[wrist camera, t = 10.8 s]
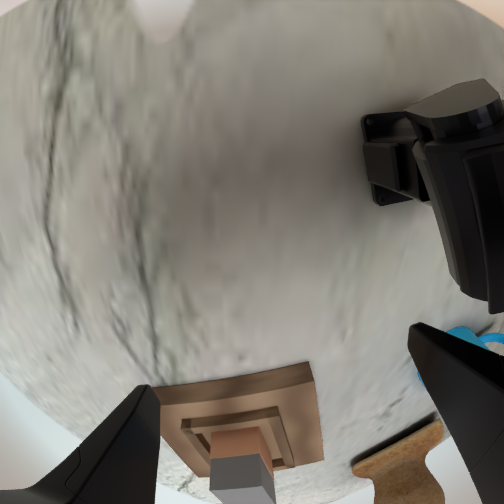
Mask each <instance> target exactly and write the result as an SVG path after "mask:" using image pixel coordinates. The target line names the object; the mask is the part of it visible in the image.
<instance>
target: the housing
mask: <svg viewBox="0 0 504 504" xmlns="http://www.w3.org/2000/svg"><path fill="white" fill-rule="evenodd" d="M210 459H211V464H210V489H209V490H210V491H211V492H212V493H213V494H214V495H215V496H216V497H217V498H218V499H219V500H220V501H222V502H223V503H224V504H276V497H275V488H274V474H273V465H272V456H271V453H270V451H269V448H268V446H267V444H266V442H265V439H264V437H263V435H262V432H261V430H260V428H259V426H256V427H249V428H242V429H235V430H227V431H219V432H211V449H210Z"/></svg>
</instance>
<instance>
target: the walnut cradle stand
mask: <svg viewBox="0 0 504 504" xmlns="http://www.w3.org/2000/svg"><path fill="white" fill-rule="evenodd" d="M152 389H153V390H154V392H155V394H156V395H157V397H158V398H159V400H160V404H161V411H160V435H161V436H162V437H163V438H164V440H165V441H166V442H167V443H168V444H169V446H170V447H171V448H172V449H173V450H174V451H175V453H176V454H177V455H178V456H179V457H180V458H181V459H182V460H183V462H184V463H185V464H186V465H187V466H188V467H189V468H190V469H191V470H192V471H193V472H194V473H195V474H196V475H197V476H198V477H210V464H211V459H210V449H211V432H219V431H227V430H235V429H242V428H249V427H256V426H259V428H260V430H261V432H262V435H263V437H264V439H265V442H266V444H267V446H268V448H269V451H270V453H271V456H272V465H273V471H278V470H283V469H289V468H294V467H295V466H300V465H305V464H309V463H314V462H318V461H322V460H324V452H323V443H322V435H321V427H320V419H319V411H318V404H317V397H316V390H315V383H314V378H313V375H312V372H311V368H310V365H309V362H305V363H301V364H297V365H293V366H288V367H284V368H279V369H275V370H270V371H265V372H260V373H255V374H250V375H245V376H239V377H233V378H227V379H221V380H215V381H208V382H201V383H193V384H185V385H176V386H167V387H156V388H152Z"/></svg>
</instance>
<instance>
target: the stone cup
mask: <svg viewBox="0 0 504 504" xmlns="http://www.w3.org/2000/svg"><path fill="white" fill-rule="evenodd" d="M443 436H444V426H443V423H442V422H441V420H440V419H437V420H435V421H433V422H432V423H430V424H428V425H427V426H425V427H423V428H421V429H420V430H418V431H416V432H414V433H412V434H411V435H409V436H407V437H405V438H403V439H401V440H399V441H398V442H396V443H394V444H392V445H390V446H389V447H387V448H385V449H383V450H381V451H379V452H377V453H375V454H373V455H372V456H370V457H368V458H366V459H364V460H362V461H360V462H358V463H357V464H355V465H354V466H353V467H352V473H353V474H354V475H355V476H357V477H360V478H370V479H371V480H372V481H373V484H374V489H375V497H374V504H445V497H444V492H443V490H442V488H441V486H440V485H439V483H438V482H437V481H436V479H435V478H434V476H433V475H432V474H431V473H430V471H429V470H428V468H427V467H426V464H425V457H426V455H427V454H428V452H429V451H430V450H431V449H433V448H434V447H435V446H437V445H438V444H439V443H440V442H441V440H442V439H443Z"/></svg>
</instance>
